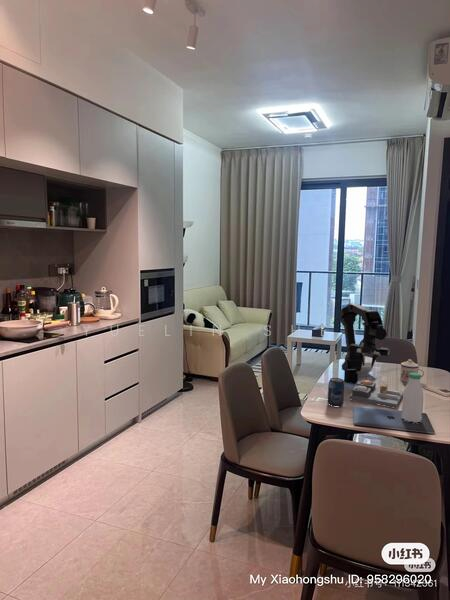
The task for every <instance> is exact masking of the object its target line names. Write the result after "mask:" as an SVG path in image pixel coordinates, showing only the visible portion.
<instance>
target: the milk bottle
mask: <svg viewBox="0 0 450 600" xmlns="http://www.w3.org/2000/svg"><path fill="white" fill-rule="evenodd" d="M421 376H422V374H421V373H419V372H418V373H409V381H408V382H407V383H406V386H405V387H404V390H403V397H402V404H401V405H402V406H401V419H402V418H403V419H405V420H408V421H413V422H420V421H421V420H423V406H424V392H423V388H422V385H421V379H422V377H421ZM421 422H422V421H421ZM421 422H420V423H421Z"/></svg>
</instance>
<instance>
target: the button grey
mask: <svg viewBox="0 0 450 600" xmlns="http://www.w3.org/2000/svg"><path fill="white" fill-rule="evenodd" d="M356 386H357V390H359V391H365V392H366V391H367V387H365V386H358V385H356Z"/></svg>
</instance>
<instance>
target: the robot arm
mask: <svg viewBox="0 0 450 600" xmlns="http://www.w3.org/2000/svg"><path fill="white" fill-rule="evenodd" d="M358 315H359V316H360V318H361V320H362V321H363V322H362V326H363V338H362V342H361V344H358V343H356V337H355V327H354V324H355V322H356V319H357V318H356V317H357V316H358ZM338 318H339V321H340V323H341V325H342V326H343V329H344V336H345V337H344V338H345V345H346V346H345V347H346V355H345V357H344V362H342V364H341V370H342V371H344V373H343V374H344V375H343V376H344V378H343V382H344V383H347V384H354V385H355V384H356V383H358V382H359V374H358V371H361V367H362V364H363V366H364V365H365V355H366V354H367V355H368V354H369V355H370V354H371V353H373V354H372V357H371V358H372V364H371V367H373V368H374V366H373V365H375V363H376V362H375V360H376V361H377V359H378V357H380V356H384V357H388V356H389V355H390V354H391V353H390V352H391V350H390V348H388V347H383V346H381V347H380V348H377V343H376V339H377V340H379V341H383V340H385V339H386V337H387V334H388V333H387V330H386V329H385V328H384V324H383V320H382V318H381V315H380V312H379V311H378V309H376V310H375V309H369V308H366V307H364V306H363V305H360V304H359V303H357V302H356V303H355V302H353V303H352V302H350V303H348V304H347V305H346V306H344V307H342V308H341V310H339V312H338Z"/></svg>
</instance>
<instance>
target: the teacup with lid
mask: <svg viewBox="0 0 450 600" xmlns="http://www.w3.org/2000/svg"><path fill="white" fill-rule="evenodd" d="M419 367H420V366H419V364H418V363H415V362H414V361H413V360H412V359H407V361H403V362H401V363H400V376H399V380H400V381H401V382H405V383H408V381H409V373H418V374H419V371H421V372H422V374H421V378H423V377H424V376H425V371H424V370H423V369H422V368H419Z"/></svg>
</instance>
